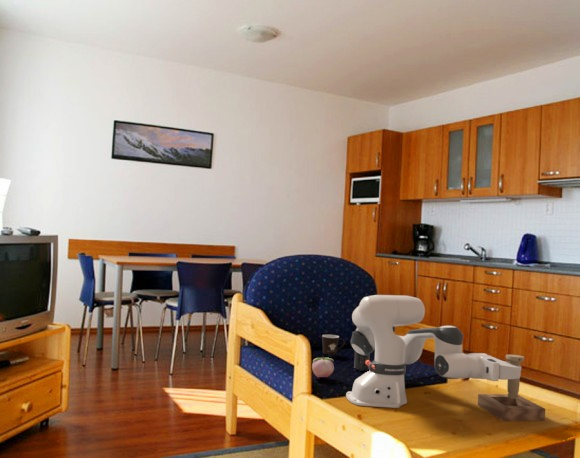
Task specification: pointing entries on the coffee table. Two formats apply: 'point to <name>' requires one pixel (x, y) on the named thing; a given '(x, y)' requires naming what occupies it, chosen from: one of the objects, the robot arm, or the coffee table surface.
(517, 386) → the beige bolt
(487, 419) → the coffee table surface
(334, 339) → the coffee mug
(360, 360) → the supplement bottle
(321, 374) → the decorative fruit
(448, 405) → the coffee table surface
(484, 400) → the collar
